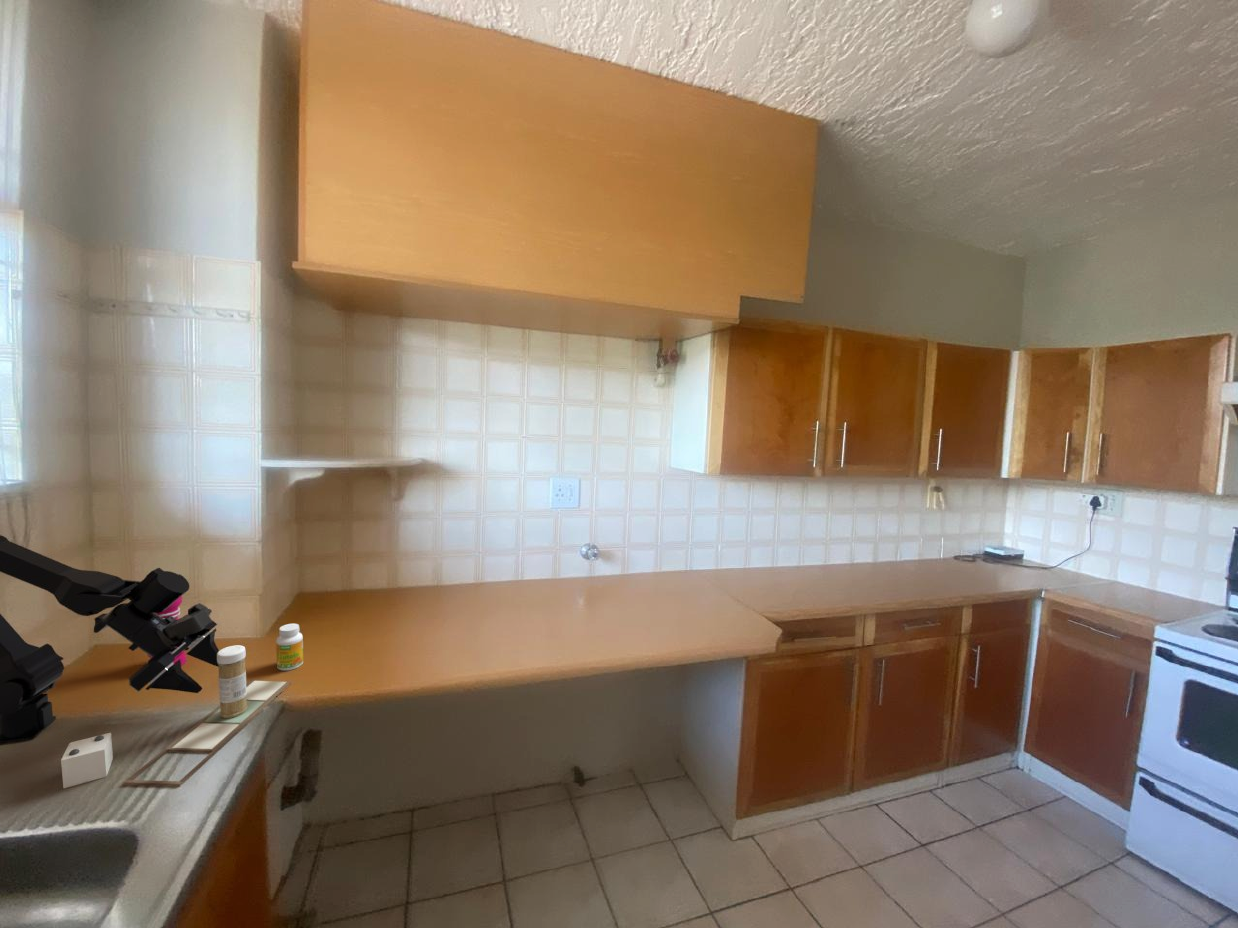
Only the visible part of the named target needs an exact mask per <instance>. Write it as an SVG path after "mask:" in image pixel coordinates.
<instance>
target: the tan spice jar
mask: <svg viewBox="0 0 1238 928" xmlns="http://www.w3.org/2000/svg"><path fill="white" fill-rule="evenodd" d="M246 652H247V651H246V647H245V646H243V645H241V644H238V645H230V646H227V647H226V646H225V647H224V648H222V649H219V652H218V653H217V663H218V666H219V667H218V694H219V697H218V698H219V703H220V704H219V706H220V716H221V717H224V718H231V717H235V716H238V715H240V714H242V713H243V712H245V711H246V710H247V703H246V694H247V692H246V684H247V673H246V672H247V671H246V656H247V653H246Z"/></svg>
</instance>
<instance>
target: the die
mask: <svg viewBox="0 0 1238 928" xmlns="http://www.w3.org/2000/svg"><path fill="white" fill-rule="evenodd" d="M112 743H113V740H112V732H108V733H103V734H100V735H96V736H91V737H87V738H84V739H79V740H76V741H75V740H74V741H72V742H69V744H68V745H67V747H66V749H65V751H64V753H63V755H62V758H61V759H60V764H61V766H60V767H61V773H62V774H61V775H62V786H63V789H66V788H67V789H68V788H71V787H75V786H78V785H81V784H86V783H88V782H91V781H95V780H99V779H103V778H107V776H108V773H109V770H110V769H111V765H112V762H113V759H114V755H113V754H114V753H113V744H112Z"/></svg>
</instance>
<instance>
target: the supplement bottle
mask: <svg viewBox="0 0 1238 928" xmlns="http://www.w3.org/2000/svg"><path fill="white" fill-rule="evenodd" d="M278 630H279V631H278V632H279V636H278V637H277V638H276V641H275V651H276V656H275V657H276V668H277V669H278V670H279V671H283V672H286V671H291V670H294V669H297V668H299V667H301V666H302V665H303V663H304V638H303V634H302V632H300V625H299V624H298V623H288V624H287V623H286V624H284V625H282V626H280V627H279V629H278Z"/></svg>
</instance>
